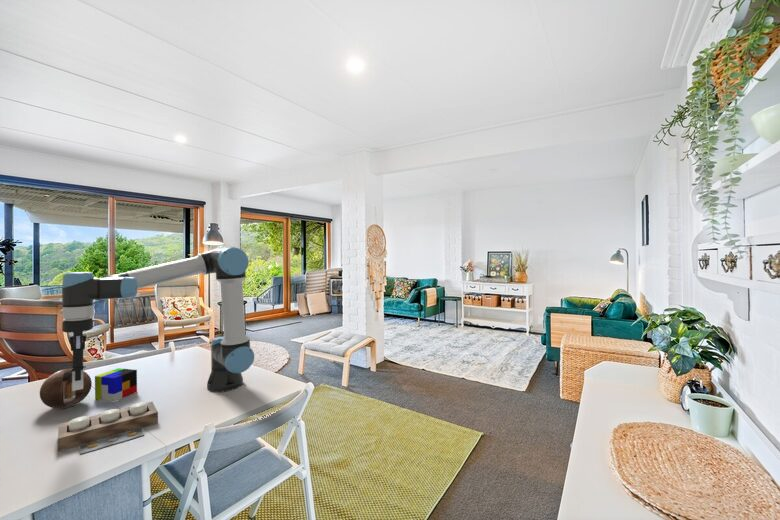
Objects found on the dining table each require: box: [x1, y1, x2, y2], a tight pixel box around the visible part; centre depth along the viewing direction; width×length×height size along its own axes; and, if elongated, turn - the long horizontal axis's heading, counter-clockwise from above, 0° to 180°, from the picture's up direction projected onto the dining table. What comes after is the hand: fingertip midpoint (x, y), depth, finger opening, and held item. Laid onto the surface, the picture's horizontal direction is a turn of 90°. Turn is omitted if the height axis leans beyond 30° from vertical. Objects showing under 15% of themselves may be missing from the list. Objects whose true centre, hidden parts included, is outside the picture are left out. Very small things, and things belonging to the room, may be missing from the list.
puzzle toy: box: [94, 368, 138, 402], centre depth 146 cm, size 10×10×10 cm
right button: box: [129, 401, 148, 416], centre depth 124 cm, size 5×5×4 cm
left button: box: [68, 415, 90, 432], centre depth 113 cm, size 5×5×4 cm
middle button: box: [100, 408, 120, 424], centre depth 118 cm, size 5×5×4 cm
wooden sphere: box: [39, 368, 93, 410], centre depth 135 cm, size 15×15×15 cm
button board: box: [57, 401, 159, 455], centre depth 116 cm, size 26×19×4 cm
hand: (77, 389), depth 112 cm, fingers closed
